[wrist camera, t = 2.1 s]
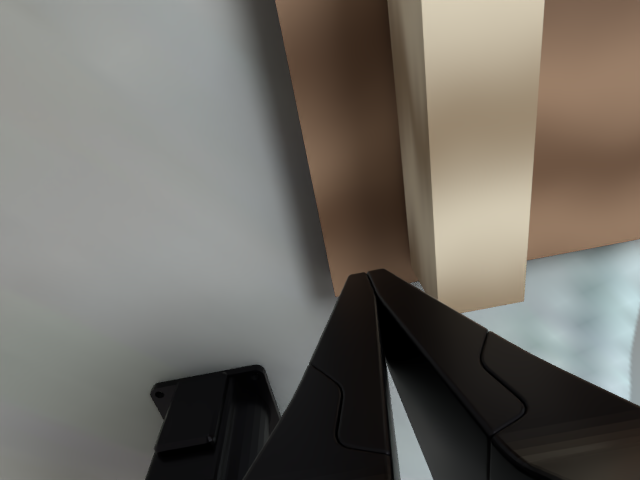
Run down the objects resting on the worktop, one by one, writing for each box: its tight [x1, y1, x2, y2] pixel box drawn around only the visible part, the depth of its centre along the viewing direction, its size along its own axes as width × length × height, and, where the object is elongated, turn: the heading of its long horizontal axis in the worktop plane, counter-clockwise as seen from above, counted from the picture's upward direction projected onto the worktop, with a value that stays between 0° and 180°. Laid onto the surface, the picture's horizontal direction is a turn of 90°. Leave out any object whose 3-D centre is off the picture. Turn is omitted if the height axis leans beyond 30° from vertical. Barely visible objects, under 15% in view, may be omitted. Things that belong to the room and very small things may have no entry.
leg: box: [387, 0, 545, 313], centre depth 12 cm, size 13×3×4 cm, turn 11°
